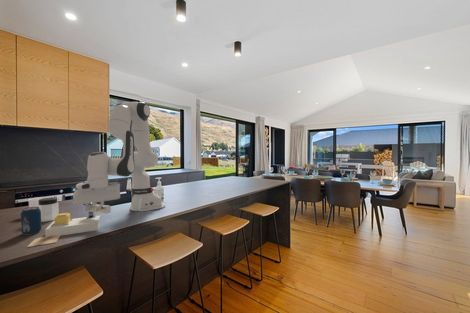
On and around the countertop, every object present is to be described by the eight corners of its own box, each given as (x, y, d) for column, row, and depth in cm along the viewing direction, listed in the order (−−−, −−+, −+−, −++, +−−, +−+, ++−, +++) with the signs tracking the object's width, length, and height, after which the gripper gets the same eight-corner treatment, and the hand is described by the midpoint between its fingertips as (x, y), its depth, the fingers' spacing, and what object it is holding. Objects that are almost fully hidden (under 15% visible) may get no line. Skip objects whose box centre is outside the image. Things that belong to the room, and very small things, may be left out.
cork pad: (61, 235, 97) (61, 234, 97) (55, 242, 89) (55, 242, 89) (35, 239, 93) (35, 238, 93) (27, 247, 85) (27, 246, 85)
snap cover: (70, 220, 105) (70, 212, 105) (67, 224, 101) (67, 214, 100) (57, 222, 103) (57, 213, 102) (54, 225, 98) (54, 216, 98)
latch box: (100, 222, 114) (100, 214, 114) (97, 230, 103) (97, 220, 103) (53, 229, 105) (53, 220, 104) (45, 238, 94) (45, 228, 94)
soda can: (41, 228, 105) (40, 205, 104) (41, 232, 100) (40, 208, 99) (22, 232, 100) (21, 208, 100) (20, 237, 95) (20, 211, 95)
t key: (90, 215, 113) (89, 202, 112) (111, 218, 108) (110, 204, 108) (85, 217, 110) (84, 203, 110) (106, 220, 106) (106, 205, 105)
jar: (36, 223, 113) (35, 201, 113) (39, 218, 120) (39, 198, 120) (57, 219, 118) (57, 199, 118) (59, 216, 125) (59, 196, 124)
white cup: (34, 217, 123) (33, 200, 123) (25, 215, 126) (25, 199, 125) (49, 213, 131) (49, 197, 130) (41, 212, 133) (40, 196, 133)
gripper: (118, 181, 115) (118, 205, 115) (71, 185, 100) (72, 213, 100) (122, 182, 111) (122, 207, 111) (74, 186, 95) (75, 216, 96)
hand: (98, 210), depth 105 cm, fingers closed
